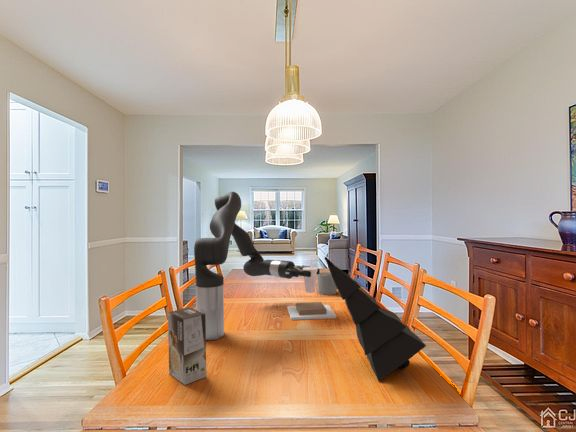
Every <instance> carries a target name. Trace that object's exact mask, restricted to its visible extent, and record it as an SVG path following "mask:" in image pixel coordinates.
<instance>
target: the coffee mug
mask: <svg viewBox="0 0 576 432" xmlns="http://www.w3.org/2000/svg"><path fill="white" fill-rule="evenodd" d="M316 282H317V294H318V295H321V294H322V295H323V296H333V294H334V295H336V293H337V292H338V289H337V287H336V285H335V283H334V280H333V278H332V275H331V273H330V271H329V272H328V271H324V272H323V271H320V274H317V275H316ZM337 294H338V293H337ZM322 295H321V296H322Z"/></svg>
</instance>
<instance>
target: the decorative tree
mask: <svg viewBox="0 0 576 432" xmlns="http://www.w3.org/2000/svg"><path fill="white" fill-rule="evenodd" d="M324 260H325V262H326V264H327V267H328V271H329V272H330V273H331V275H332V278H333V280H334V283H335V285H336V287H337V292H338V294H339V296H340V298H341V300H343V301H344V302H345V303H344V304H345V306H346V309H347V311H348V313H349V315H350V316H351V319H352V322H353V324H354V325H355V331H356V337H357V339H358V342H359V344H360V347H361V348H362V350H363V352H364V356H366V359H368V362H369V364H370V367H371V370H372V371H373V374H374V375H375V377H376V380H377V381H378V382H380V381H382V379H384V378H386V377H387V376H388V375H389V374H391V373H393V372H394V371H395V370H397V369H398V370H401V371H402V370H404V369H406V368H408V366H409V365H410V359H412V357H414V356H415V355H416V354H418V353H419V352H421V350H423V349H424V348H425V347H427V345H426V344H425V342H424V341H423V340H422V339H421V338H420V337H419V336H418V335H417V334H416V333H414V331H412V329H410V327H409V326H408V325H407V324H404V323H403V322H402V320H401V319H400V318H399V316H398V315H397V314H396V313H394V312H393V311H392V310H389V309H385V308H384V307H381V306H380V305H379V304H378V301H377V300H376V298H375V297H373V296H371V294H368V293H367V292H366V291H364V290H362V289H361V288H362V286H361V285H360V284H359V283H358V282H357V281H356V280H354V278H352V277H351V276H350V275H348V274H347V273H346V272H345V271H344V270H343V269H341V268H339V267H337V266H336V265H335V263H333V262H332V261H330V259H328V257H327V256H324Z"/></svg>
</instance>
